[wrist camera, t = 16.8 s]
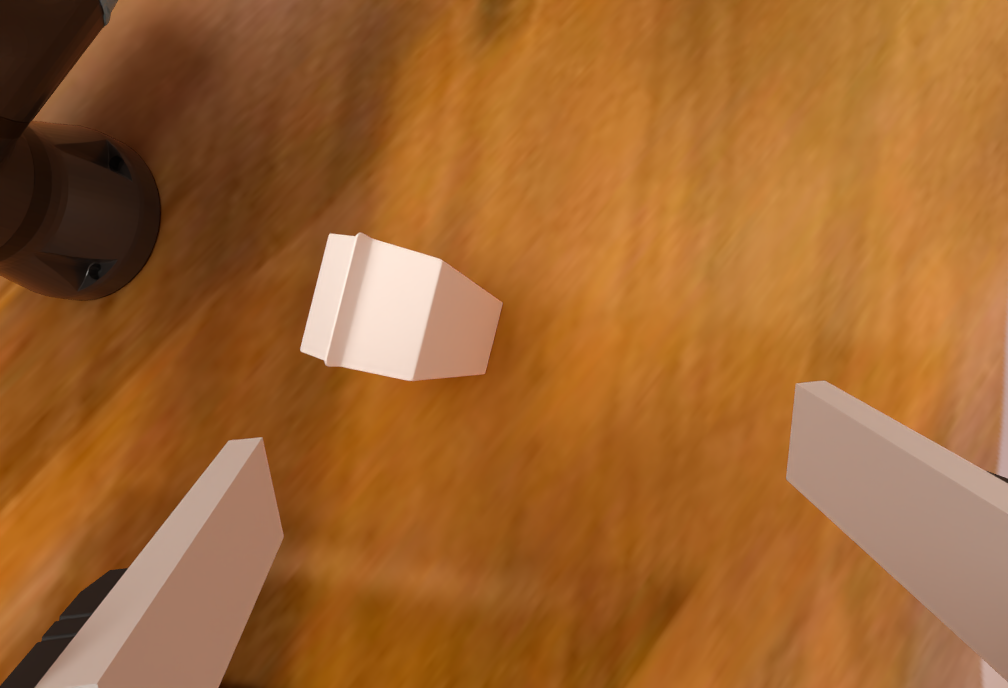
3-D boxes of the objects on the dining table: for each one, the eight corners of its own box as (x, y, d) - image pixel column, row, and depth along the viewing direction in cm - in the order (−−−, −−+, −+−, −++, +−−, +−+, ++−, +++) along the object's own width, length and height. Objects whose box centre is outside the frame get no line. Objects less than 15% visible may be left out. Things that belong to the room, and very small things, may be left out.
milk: (503, 302, 45) (427, 244, 23) (485, 375, 45) (392, 385, 23) (432, 285, 46) (295, 213, 24) (414, 357, 46) (261, 349, 24)
